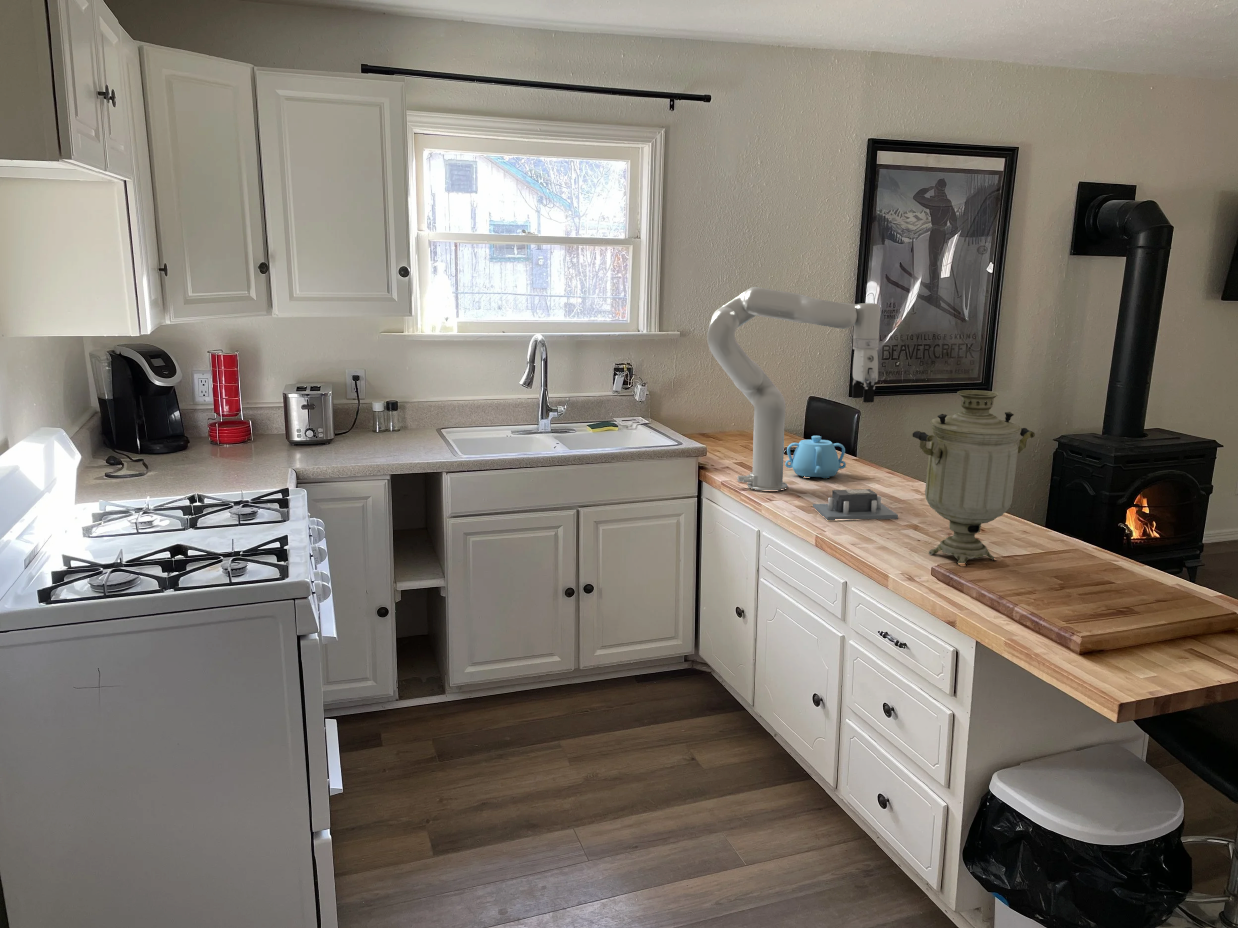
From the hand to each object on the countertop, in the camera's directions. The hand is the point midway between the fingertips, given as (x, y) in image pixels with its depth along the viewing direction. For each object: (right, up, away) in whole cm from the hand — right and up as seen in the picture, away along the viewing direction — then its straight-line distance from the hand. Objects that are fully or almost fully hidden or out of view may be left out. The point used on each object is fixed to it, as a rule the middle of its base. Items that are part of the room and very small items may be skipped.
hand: (862, 400), depth 282 cm
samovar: (+8, -42, -59) cm, 73 cm away
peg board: (-8, -34, -22) cm, 41 cm away
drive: (-9, -33, -22) cm, 40 cm away
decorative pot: (-10, -24, +25) cm, 36 cm away
